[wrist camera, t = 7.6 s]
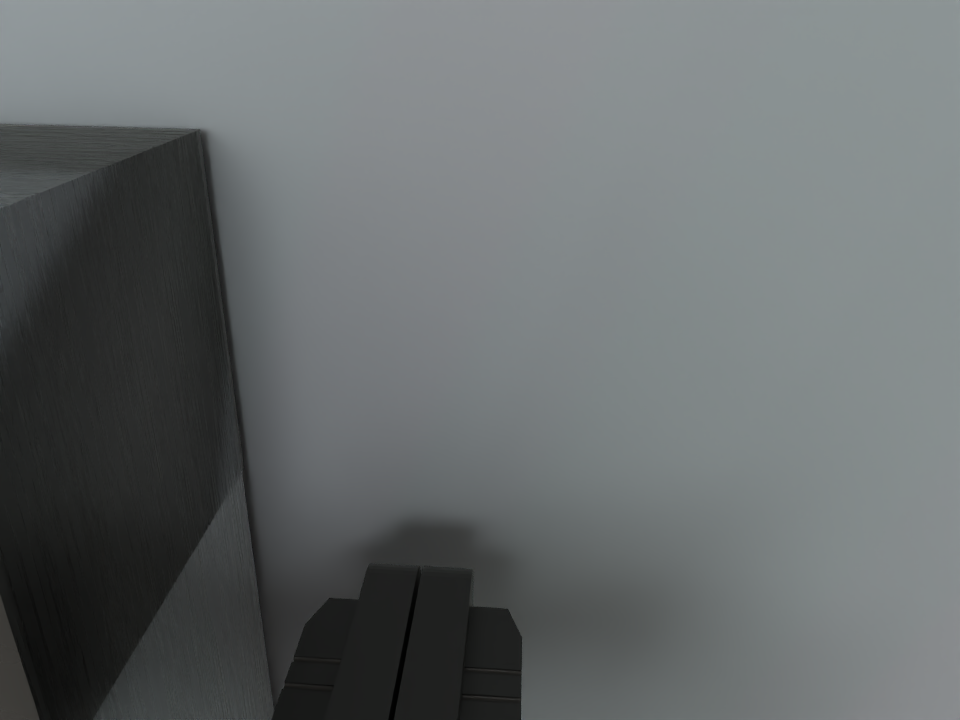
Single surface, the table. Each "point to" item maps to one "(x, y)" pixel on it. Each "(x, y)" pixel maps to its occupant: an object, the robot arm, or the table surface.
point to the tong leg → (119, 438)
